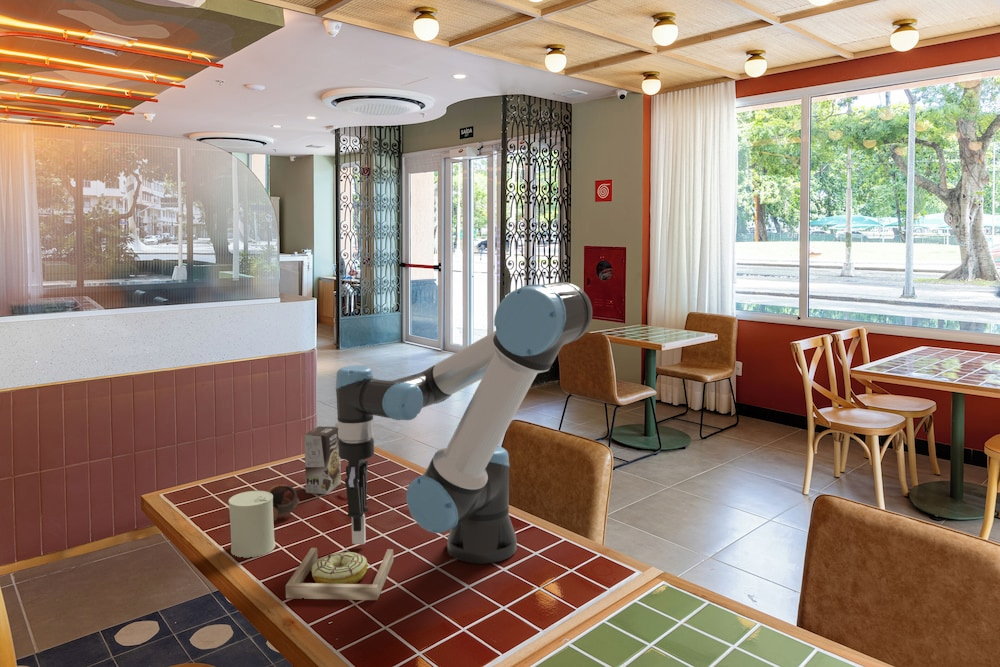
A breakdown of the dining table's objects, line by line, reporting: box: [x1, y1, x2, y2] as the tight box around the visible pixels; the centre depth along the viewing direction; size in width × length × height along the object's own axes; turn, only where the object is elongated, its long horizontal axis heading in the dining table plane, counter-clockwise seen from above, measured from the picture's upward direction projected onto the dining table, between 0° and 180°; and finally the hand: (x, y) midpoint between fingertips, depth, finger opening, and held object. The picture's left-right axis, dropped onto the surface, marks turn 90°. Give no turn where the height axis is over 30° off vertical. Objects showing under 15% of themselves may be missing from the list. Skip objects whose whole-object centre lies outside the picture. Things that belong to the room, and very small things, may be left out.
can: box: [228, 490, 276, 559], centre depth 153 cm, size 9×9×12 cm
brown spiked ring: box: [254, 483, 301, 522], centre depth 172 cm, size 12×10×8 cm
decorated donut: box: [311, 551, 368, 584], centre depth 141 cm, size 10×11×4 cm
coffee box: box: [303, 425, 342, 495], centre depth 189 cm, size 9×6×16 cm
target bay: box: [284, 547, 395, 601], centre depth 140 cm, size 17×16×2 cm
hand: (359, 542), depth 154 cm, fingers closed
